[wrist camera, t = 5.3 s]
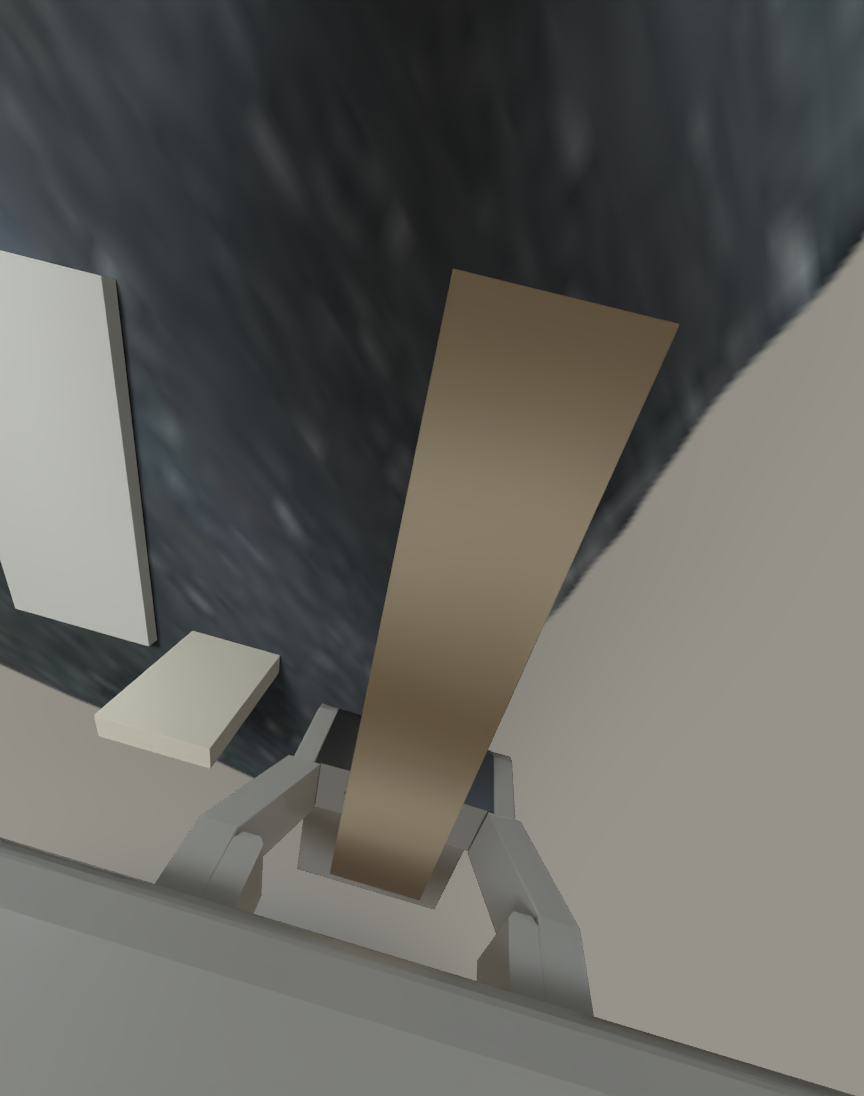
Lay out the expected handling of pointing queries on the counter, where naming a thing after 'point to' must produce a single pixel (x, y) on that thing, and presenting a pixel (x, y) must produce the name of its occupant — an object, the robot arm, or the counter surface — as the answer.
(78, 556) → the board
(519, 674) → the wooden handled scraper
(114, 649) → the counter surface
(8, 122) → the counter surface
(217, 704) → the tile
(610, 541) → the counter surface
